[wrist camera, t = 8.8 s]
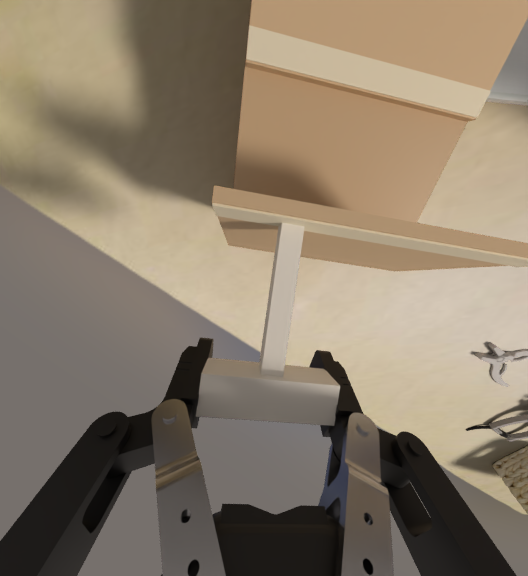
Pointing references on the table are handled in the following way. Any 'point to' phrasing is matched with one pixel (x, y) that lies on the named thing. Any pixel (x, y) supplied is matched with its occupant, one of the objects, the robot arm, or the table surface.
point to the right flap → (288, 249)
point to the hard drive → (513, 74)
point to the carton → (365, 96)
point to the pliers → (501, 361)
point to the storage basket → (515, 474)
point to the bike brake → (505, 422)
